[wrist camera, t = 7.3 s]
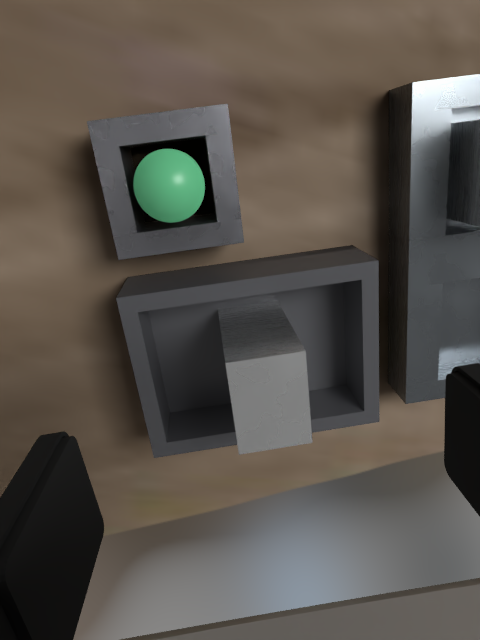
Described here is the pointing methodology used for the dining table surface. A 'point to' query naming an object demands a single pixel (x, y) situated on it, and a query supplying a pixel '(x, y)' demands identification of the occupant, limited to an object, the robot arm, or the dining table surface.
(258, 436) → the billet
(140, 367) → the tote
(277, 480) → the dining table surface
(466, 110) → the pallet
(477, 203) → the billet
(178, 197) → the button
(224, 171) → the button housing
